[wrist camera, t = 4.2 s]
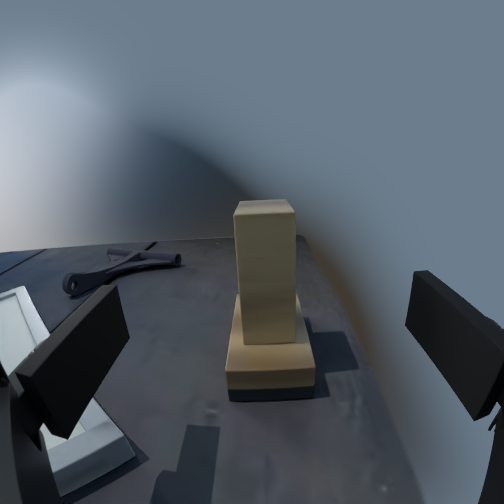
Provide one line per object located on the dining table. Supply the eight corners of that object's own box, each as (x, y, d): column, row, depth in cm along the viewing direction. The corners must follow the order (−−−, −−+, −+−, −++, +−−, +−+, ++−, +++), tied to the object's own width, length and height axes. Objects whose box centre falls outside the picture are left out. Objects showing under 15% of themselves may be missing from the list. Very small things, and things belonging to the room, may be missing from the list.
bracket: (43, 289, 34) (38, 270, 33) (114, 256, 46) (112, 239, 46) (103, 311, 28) (96, 287, 27) (182, 264, 41) (179, 245, 40)
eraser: (313, 398, 16) (322, 220, 13) (229, 401, 16) (208, 225, 13) (296, 317, 26) (295, 194, 22) (239, 319, 26) (229, 197, 23)
